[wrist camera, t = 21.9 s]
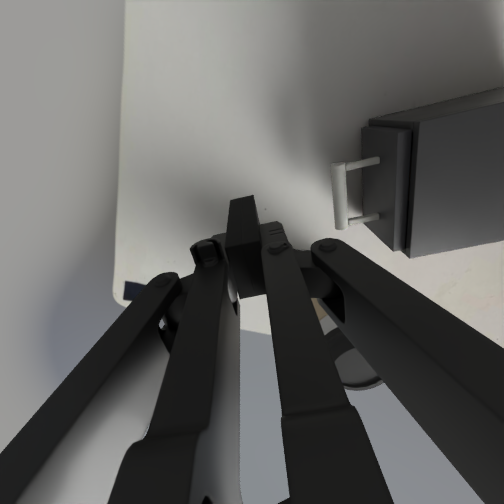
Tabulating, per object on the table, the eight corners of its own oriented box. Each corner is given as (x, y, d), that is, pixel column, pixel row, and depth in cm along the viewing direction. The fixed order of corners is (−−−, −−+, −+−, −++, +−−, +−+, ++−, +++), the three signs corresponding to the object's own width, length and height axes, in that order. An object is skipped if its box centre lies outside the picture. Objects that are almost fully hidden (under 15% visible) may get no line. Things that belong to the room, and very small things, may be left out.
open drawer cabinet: (326, 231, 34) (346, 260, 27) (317, 138, 29) (340, 146, 22) (473, 200, 33) (533, 224, 26) (492, 96, 27) (575, 91, 20)
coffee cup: (348, 250, 37) (407, 328, 23) (360, 298, 41) (415, 388, 27) (287, 271, 38) (308, 355, 25) (304, 315, 42) (330, 408, 29)
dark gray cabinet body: (369, 223, 35) (409, 258, 26) (368, 119, 29) (419, 121, 20) (485, 199, 33) (566, 228, 25) (509, 85, 28) (625, 73, 19)
